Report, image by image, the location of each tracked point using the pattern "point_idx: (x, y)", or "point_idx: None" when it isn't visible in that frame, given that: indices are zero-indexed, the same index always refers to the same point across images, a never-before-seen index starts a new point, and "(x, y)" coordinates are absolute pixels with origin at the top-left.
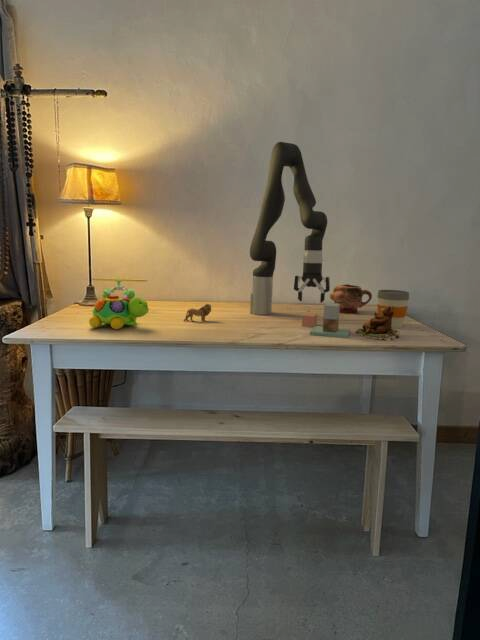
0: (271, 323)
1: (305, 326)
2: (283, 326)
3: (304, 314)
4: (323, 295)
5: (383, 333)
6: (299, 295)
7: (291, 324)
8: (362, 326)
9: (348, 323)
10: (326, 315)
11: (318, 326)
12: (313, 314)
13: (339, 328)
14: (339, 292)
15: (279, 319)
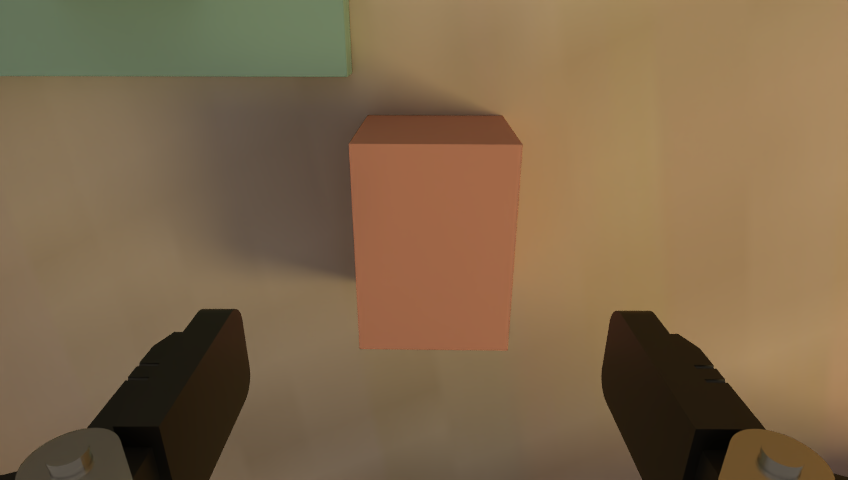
0: (844, 175)
1: (461, 118)
2: (707, 59)
3: (502, 225)
4: (119, 412)
5: None
6: (701, 389)
7: (623, 212)
8: None
9: None
10: None
11: (300, 60)
12: (392, 277)
13: (52, 47)
14: None
15: (752, 401)
